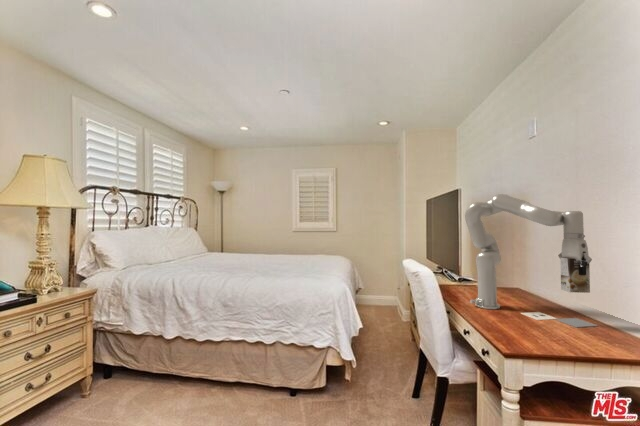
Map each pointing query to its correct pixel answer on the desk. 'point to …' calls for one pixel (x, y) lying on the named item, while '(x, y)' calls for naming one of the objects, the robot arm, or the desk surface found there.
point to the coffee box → (574, 276)
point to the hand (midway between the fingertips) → (574, 273)
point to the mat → (576, 322)
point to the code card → (538, 316)
